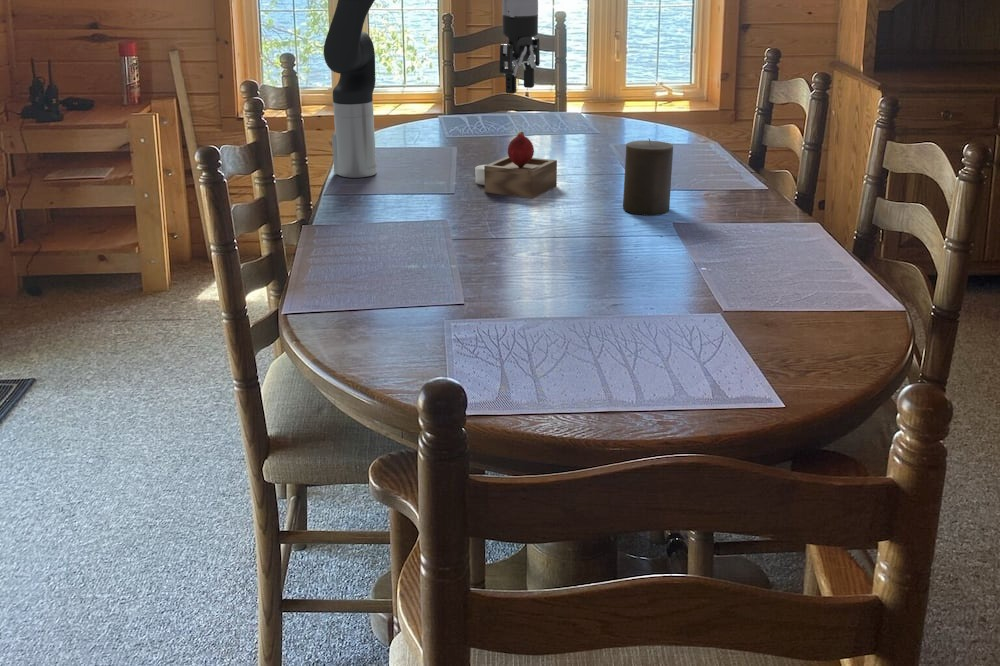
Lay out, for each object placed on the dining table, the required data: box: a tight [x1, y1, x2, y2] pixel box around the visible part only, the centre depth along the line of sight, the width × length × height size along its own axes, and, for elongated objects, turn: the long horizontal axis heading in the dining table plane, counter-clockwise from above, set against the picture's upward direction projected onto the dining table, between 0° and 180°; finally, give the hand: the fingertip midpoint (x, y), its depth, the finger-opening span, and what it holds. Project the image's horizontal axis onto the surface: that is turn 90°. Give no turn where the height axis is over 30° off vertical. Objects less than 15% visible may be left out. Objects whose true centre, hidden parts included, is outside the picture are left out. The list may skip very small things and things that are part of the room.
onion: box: [507, 130, 535, 167], centre depth 235 cm, size 6×6×8 cm
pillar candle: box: [622, 138, 674, 216], centre depth 219 cm, size 10×10×15 cm
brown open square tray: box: [484, 155, 558, 199], centre depth 237 cm, size 12×12×6 cm
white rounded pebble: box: [474, 164, 486, 186], centre depth 245 cm, size 6×6×4 cm
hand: (520, 90), depth 230 cm, fingers open, 8 cm apart
